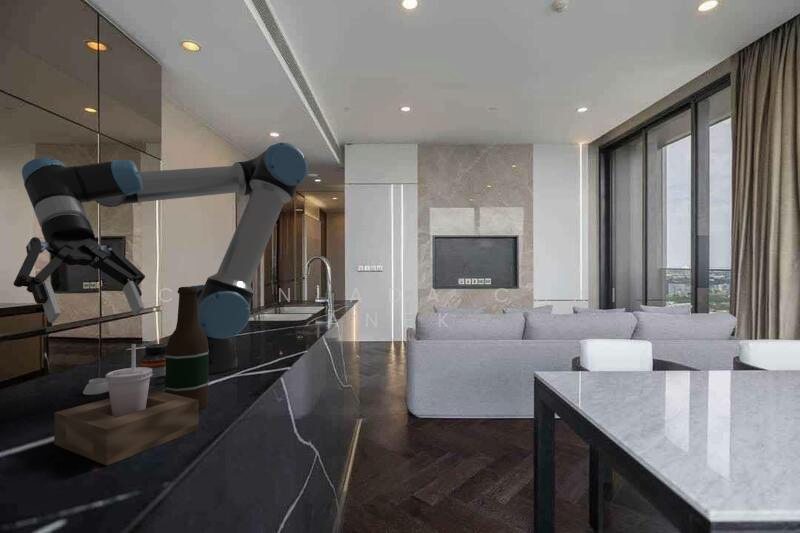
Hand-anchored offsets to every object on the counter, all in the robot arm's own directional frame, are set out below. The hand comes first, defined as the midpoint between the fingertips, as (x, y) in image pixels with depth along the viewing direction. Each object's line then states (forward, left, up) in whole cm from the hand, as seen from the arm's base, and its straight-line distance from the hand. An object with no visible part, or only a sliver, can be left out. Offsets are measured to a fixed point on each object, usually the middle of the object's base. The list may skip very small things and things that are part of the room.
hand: (100, 314), depth 71 cm
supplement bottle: (-12, -4, -19) cm, 23 cm away
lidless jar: (-9, -20, -20) cm, 29 cm away
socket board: (+2, +12, -19) cm, 23 cm away
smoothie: (+2, +13, -18) cm, 22 cm away
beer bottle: (-11, +8, -19) cm, 24 cm away
